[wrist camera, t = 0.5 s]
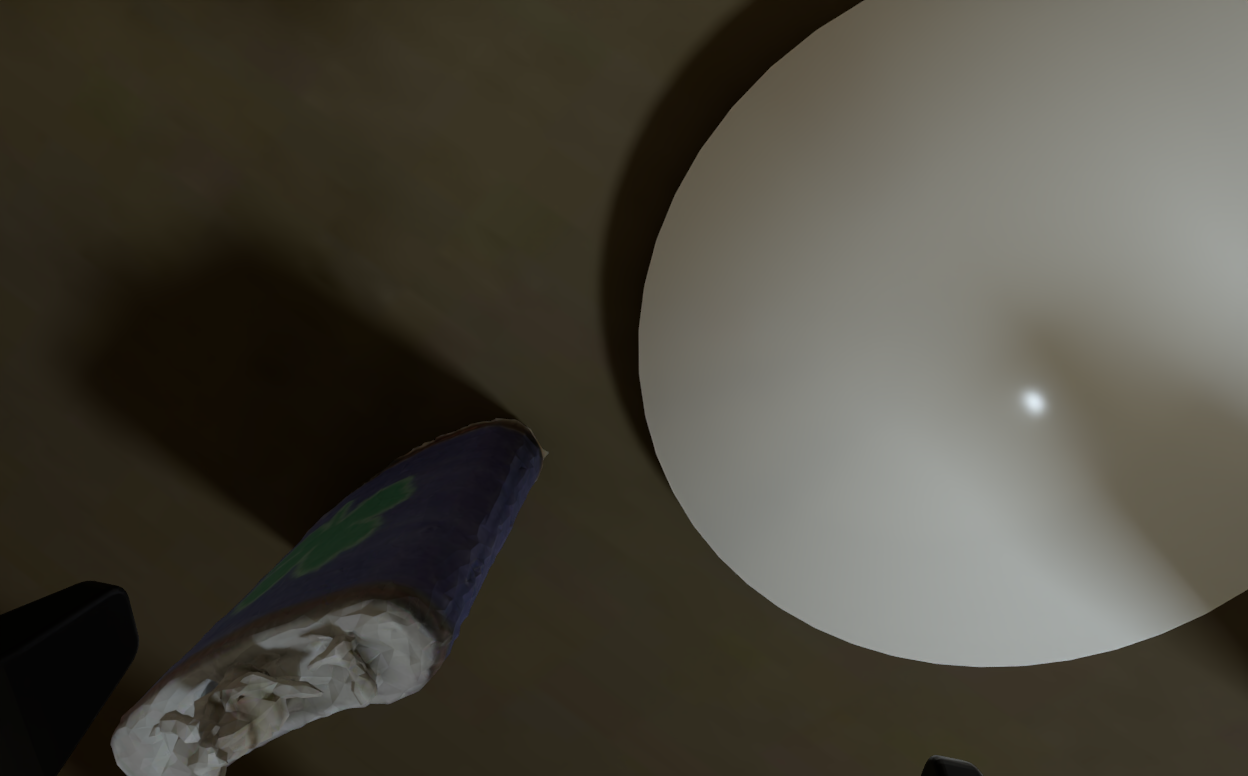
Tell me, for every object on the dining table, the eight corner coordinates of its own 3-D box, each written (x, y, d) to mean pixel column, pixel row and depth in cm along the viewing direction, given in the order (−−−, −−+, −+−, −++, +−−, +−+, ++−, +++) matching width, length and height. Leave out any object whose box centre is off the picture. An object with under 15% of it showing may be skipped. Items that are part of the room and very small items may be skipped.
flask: (341, 591, 26) (90, 892, 16) (286, 522, 25) (-12, 790, 15) (565, 471, 23) (435, 740, 13) (510, 391, 22) (330, 609, 12)
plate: (751, 682, 25) (752, 716, 23) (550, 123, 20) (535, 124, 18) (1408, 558, 20) (1458, 591, 19) (1359, -192, 16) (1421, -222, 14)
